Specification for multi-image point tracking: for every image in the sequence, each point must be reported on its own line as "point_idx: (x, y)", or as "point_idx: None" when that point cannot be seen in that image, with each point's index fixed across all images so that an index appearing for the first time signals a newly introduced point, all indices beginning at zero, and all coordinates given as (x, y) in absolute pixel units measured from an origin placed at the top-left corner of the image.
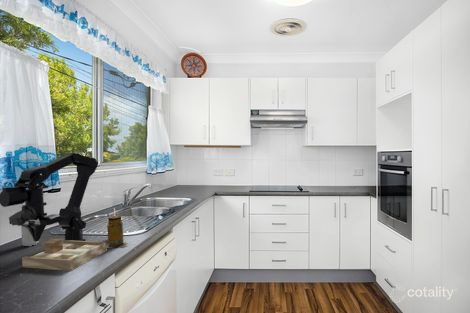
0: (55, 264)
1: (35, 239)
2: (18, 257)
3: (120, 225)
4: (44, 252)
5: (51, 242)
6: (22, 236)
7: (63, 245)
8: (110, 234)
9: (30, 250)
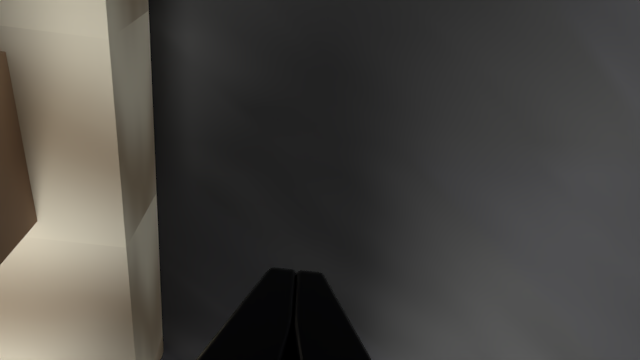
0: None
1: (277, 296)
2: (588, 95)
3: None
4: (37, 70)
5: None
6: None
7: (39, 335)
8: None
9: (579, 307)
